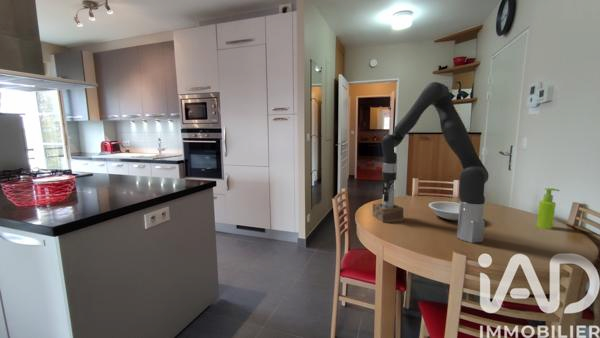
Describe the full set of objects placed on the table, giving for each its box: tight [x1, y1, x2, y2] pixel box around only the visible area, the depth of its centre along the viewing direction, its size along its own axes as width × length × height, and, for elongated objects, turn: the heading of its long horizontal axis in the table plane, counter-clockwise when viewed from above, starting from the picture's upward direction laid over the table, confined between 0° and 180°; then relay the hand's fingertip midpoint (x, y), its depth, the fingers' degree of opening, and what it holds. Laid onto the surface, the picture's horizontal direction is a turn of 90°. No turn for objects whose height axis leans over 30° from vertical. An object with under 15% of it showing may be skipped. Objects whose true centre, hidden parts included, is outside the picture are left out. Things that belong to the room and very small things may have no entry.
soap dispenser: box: [536, 187, 560, 230], centre depth 133 cm, size 6×7×20 cm
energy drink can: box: [382, 186, 395, 208], centre depth 148 cm, size 6×6×15 cm
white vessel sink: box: [428, 201, 460, 221], centre depth 148 cm, size 24×24×7 cm
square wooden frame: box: [371, 202, 404, 223], centre depth 149 cm, size 12×12×7 cm
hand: (388, 199), depth 148 cm, fingers open, 8 cm apart
